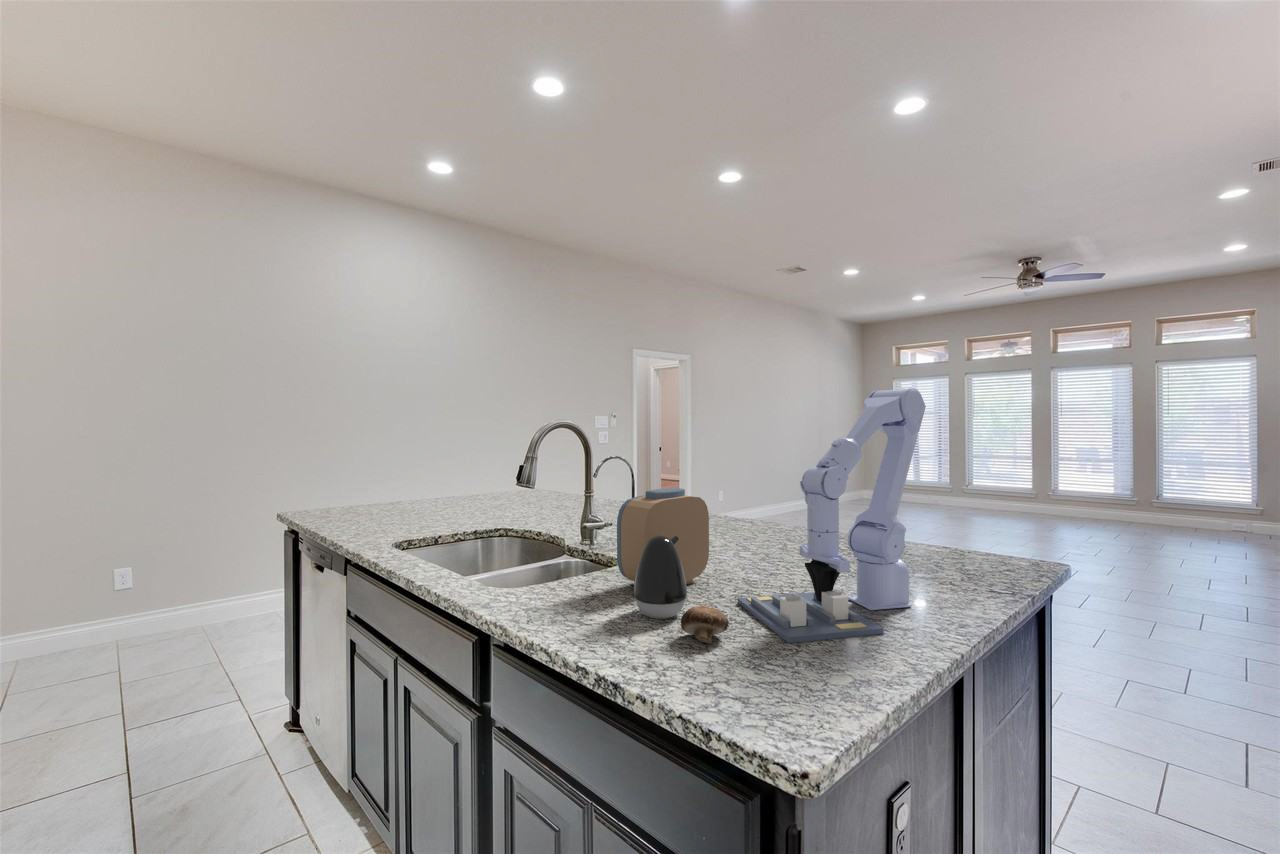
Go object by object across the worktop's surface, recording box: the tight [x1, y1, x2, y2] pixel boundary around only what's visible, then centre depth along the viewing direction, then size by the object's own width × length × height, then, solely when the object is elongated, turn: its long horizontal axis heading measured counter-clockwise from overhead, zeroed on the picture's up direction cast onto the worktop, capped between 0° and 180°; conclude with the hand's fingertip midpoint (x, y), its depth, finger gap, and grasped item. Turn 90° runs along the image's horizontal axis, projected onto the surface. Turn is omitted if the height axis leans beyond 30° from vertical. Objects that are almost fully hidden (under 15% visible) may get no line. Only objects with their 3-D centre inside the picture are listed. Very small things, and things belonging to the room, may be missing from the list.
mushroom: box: [680, 605, 730, 645], centre depth 98 cm, size 8×8×6 cm
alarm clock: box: [616, 487, 710, 586], centre depth 132 cm, size 21×10×22 cm, turn 133°
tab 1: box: [780, 596, 806, 627], centre depth 103 cm, size 3×4×5 cm
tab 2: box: [822, 589, 849, 620], centre depth 106 cm, size 3×4×5 cm
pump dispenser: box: [633, 536, 688, 620], centre depth 111 cm, size 10×10×15 cm
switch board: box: [737, 591, 884, 644], centre depth 109 cm, size 18×22×2 cm
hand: (823, 601), depth 110 cm, fingers closed
